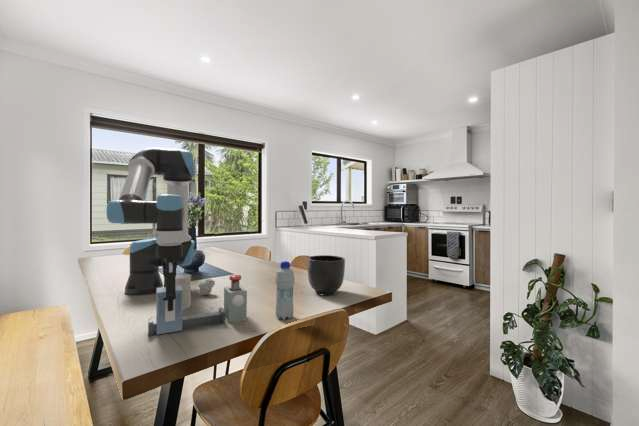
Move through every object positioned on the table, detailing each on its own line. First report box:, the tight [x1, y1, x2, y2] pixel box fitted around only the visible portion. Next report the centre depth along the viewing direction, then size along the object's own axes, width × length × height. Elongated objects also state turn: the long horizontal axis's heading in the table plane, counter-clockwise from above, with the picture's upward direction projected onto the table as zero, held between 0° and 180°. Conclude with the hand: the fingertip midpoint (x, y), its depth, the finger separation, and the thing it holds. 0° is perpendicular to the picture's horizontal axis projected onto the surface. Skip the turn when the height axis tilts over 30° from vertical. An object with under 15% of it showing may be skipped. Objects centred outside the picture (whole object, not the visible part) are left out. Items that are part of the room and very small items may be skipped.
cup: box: [175, 273, 192, 311], centre depth 118 cm, size 8×8×12 cm
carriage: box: [155, 286, 184, 335], centre depth 96 cm, size 8×7×13 cm
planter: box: [307, 254, 346, 296], centre depth 141 cm, size 17×17×16 cm
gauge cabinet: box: [223, 285, 248, 323], centre depth 108 cm, size 8×6×10 cm
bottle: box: [275, 260, 295, 321], centre depth 109 cm, size 7×7×20 cm
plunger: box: [229, 274, 242, 291], centre depth 108 cm, size 4×4×8 cm
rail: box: [147, 306, 226, 337], centre depth 99 cm, size 5×22×4 cm, turn 119°
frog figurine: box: [198, 278, 216, 296], centre depth 135 cm, size 6×7×7 cm
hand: (169, 315), depth 96 cm, fingers open, 9 cm apart
